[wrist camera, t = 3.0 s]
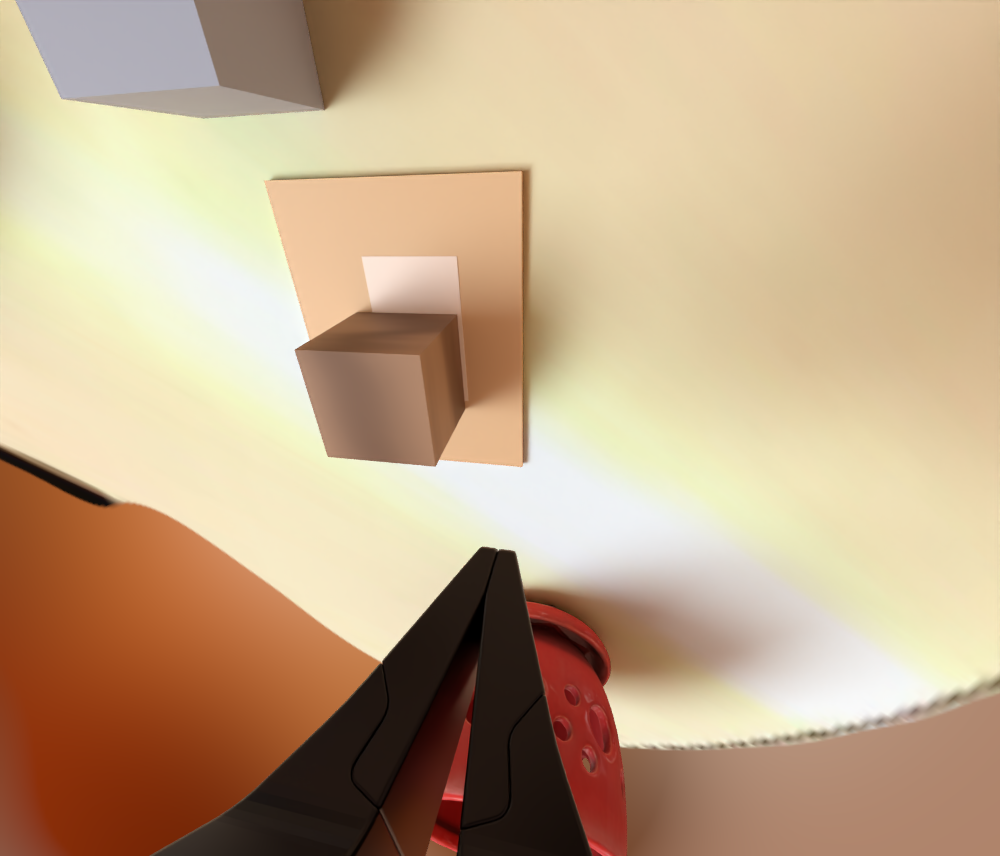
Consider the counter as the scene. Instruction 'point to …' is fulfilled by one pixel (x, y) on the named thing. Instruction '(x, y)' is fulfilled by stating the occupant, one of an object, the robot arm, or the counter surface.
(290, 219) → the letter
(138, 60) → the slate cube
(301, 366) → the walnut block
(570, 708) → the plant pot
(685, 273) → the counter surface
